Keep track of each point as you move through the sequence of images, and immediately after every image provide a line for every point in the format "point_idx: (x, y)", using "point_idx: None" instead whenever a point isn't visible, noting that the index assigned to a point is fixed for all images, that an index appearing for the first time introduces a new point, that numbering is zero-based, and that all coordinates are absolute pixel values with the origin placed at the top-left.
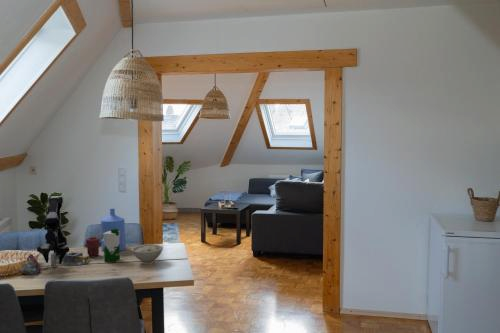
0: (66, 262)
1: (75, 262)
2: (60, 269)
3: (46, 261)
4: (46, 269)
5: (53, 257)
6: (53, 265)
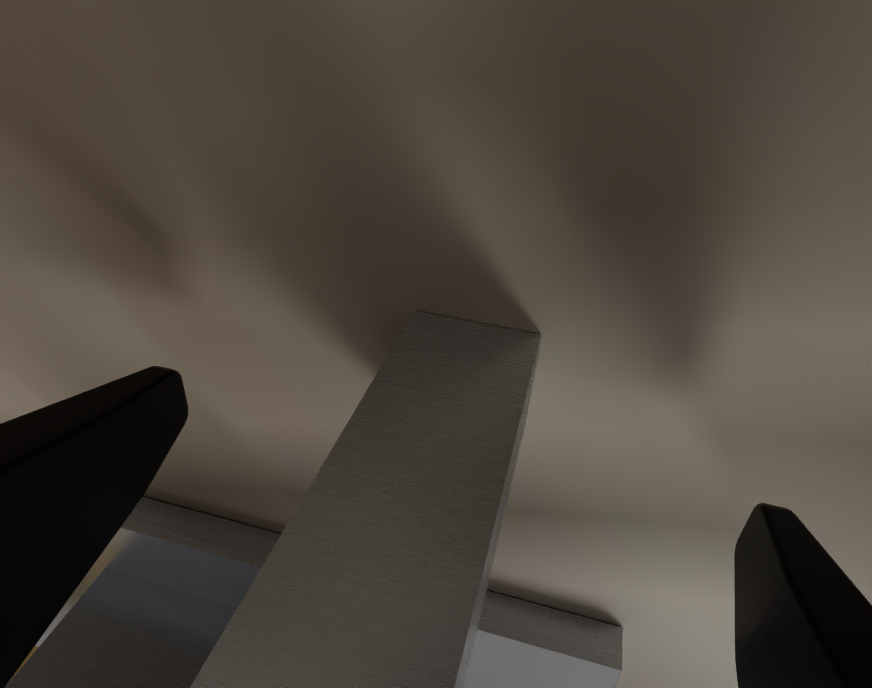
0: None
1: (94, 566)
2: (55, 96)
3: (782, 549)
4: (559, 8)
5: (253, 622)
6: (423, 351)
